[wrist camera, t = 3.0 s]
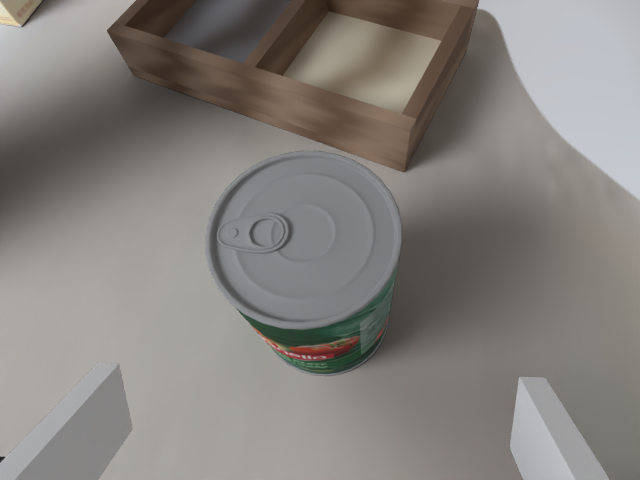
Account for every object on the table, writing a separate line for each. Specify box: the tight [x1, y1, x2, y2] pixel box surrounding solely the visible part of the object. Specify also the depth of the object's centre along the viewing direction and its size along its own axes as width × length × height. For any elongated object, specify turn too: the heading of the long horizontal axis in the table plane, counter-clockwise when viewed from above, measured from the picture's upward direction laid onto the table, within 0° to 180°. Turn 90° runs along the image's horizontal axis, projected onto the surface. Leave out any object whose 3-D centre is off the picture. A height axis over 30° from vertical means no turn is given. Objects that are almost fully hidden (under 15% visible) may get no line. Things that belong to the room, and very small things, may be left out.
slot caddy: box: [107, 0, 479, 172], centre depth 35 cm, size 25×13×4 cm, turn 63°
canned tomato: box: [205, 151, 402, 376], centre depth 22 cm, size 8×8×11 cm
